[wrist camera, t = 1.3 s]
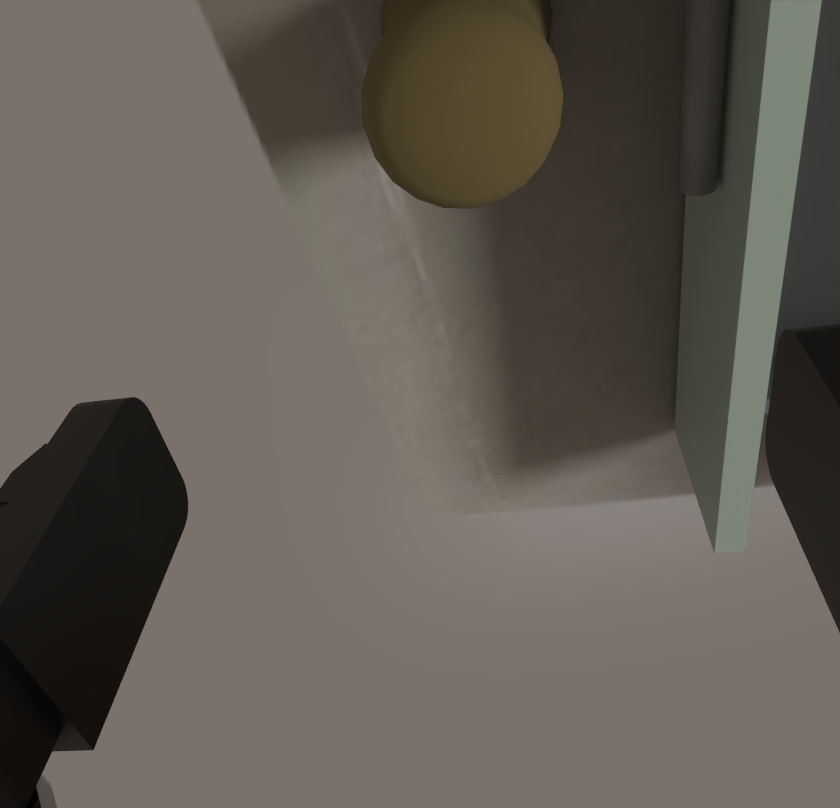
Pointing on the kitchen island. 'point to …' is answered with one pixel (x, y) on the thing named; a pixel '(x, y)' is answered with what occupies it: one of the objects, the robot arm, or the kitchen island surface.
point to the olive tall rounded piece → (462, 97)
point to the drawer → (751, 228)
